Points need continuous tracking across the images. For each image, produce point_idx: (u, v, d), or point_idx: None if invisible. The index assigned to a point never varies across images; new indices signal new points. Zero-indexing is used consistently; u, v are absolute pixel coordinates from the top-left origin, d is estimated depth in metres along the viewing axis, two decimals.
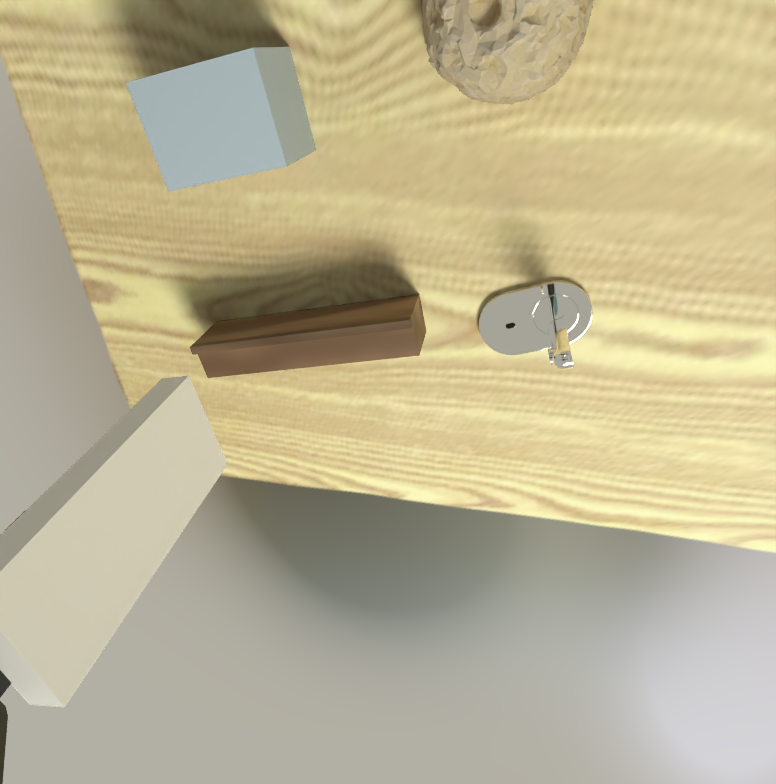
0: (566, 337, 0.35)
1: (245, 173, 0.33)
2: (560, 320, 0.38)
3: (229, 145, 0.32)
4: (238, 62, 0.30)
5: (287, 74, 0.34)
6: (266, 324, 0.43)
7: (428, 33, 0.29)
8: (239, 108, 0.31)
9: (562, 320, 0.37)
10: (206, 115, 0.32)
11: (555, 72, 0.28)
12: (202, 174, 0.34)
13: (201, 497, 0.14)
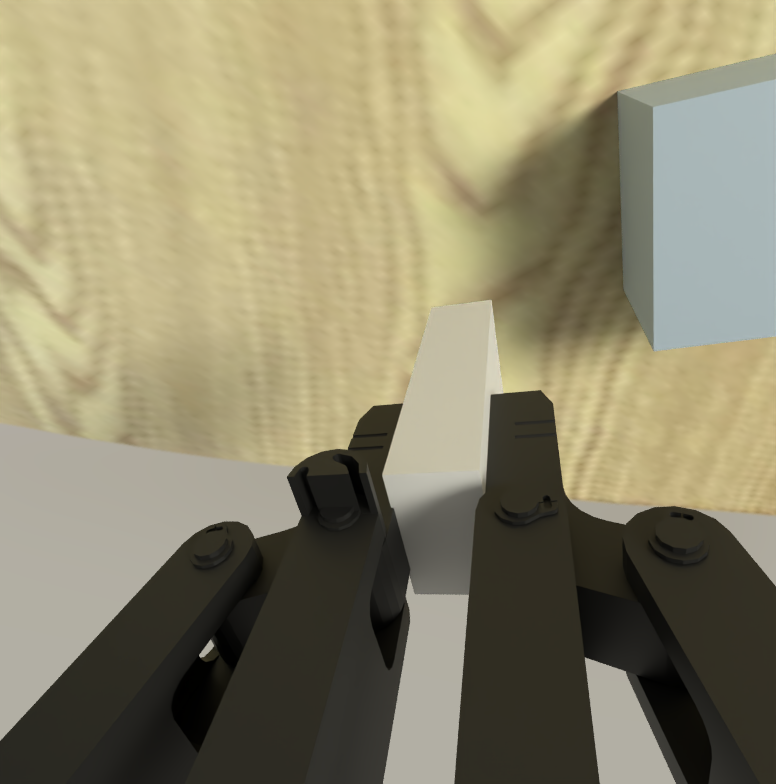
0: None
1: None
2: None
3: None
4: (670, 142, 0.16)
5: (670, 84, 0.19)
6: None
7: None
8: (749, 150, 0.16)
9: None
10: (740, 223, 0.17)
11: None
12: None
13: None
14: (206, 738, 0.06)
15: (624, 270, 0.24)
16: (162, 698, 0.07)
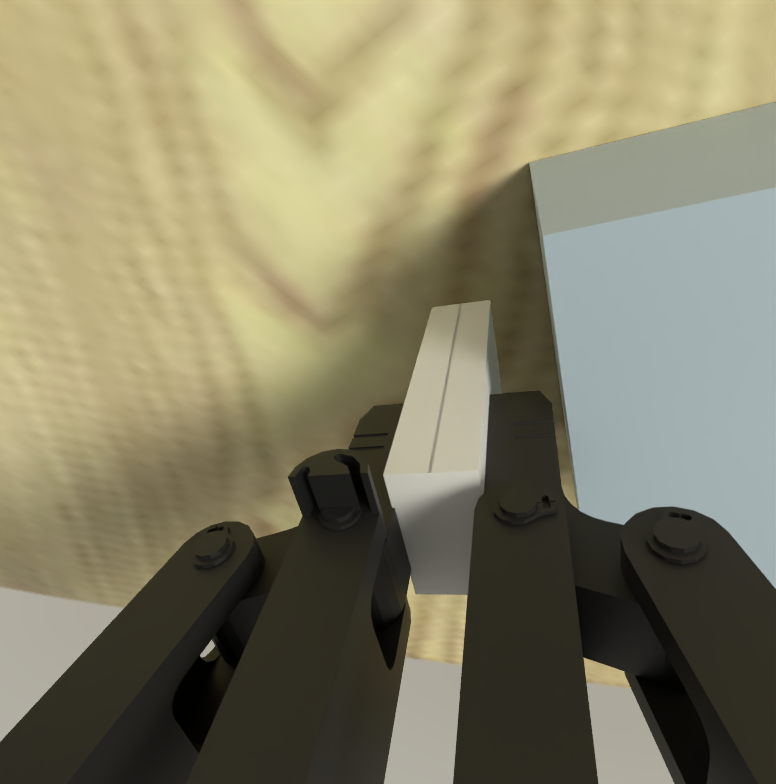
0: None
1: None
2: None
3: None
4: (583, 294, 0.09)
5: (604, 161, 0.11)
6: None
7: None
8: (735, 312, 0.08)
9: None
10: (724, 428, 0.09)
11: None
12: None
13: None
14: (207, 738, 0.06)
15: None
16: (162, 698, 0.07)
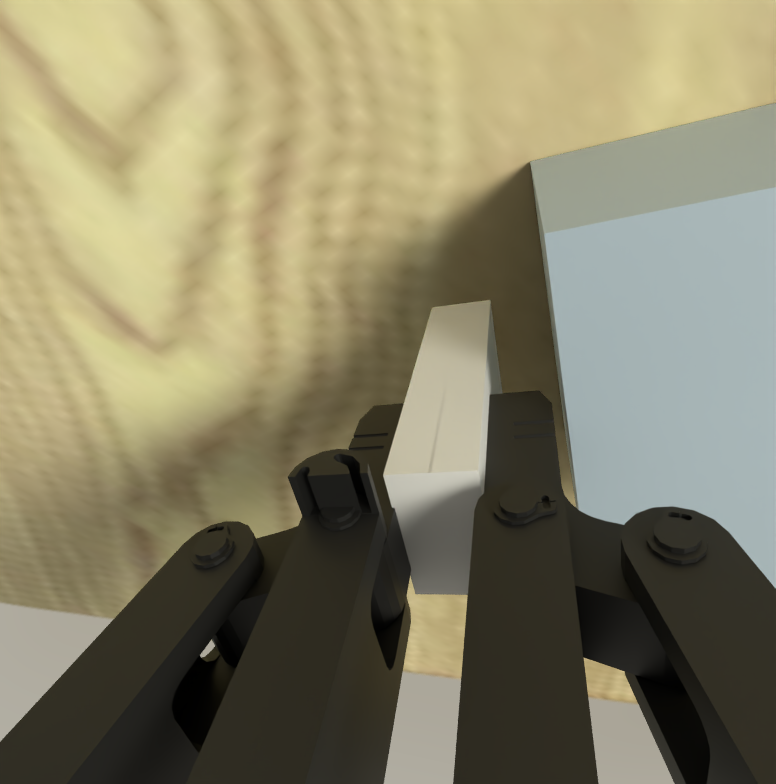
0: None
1: None
2: None
3: None
4: (583, 293, 0.09)
5: (605, 160, 0.11)
6: None
7: None
8: (736, 312, 0.08)
9: None
10: (725, 427, 0.09)
11: None
12: None
13: None
14: (207, 738, 0.06)
15: None
16: (162, 698, 0.07)
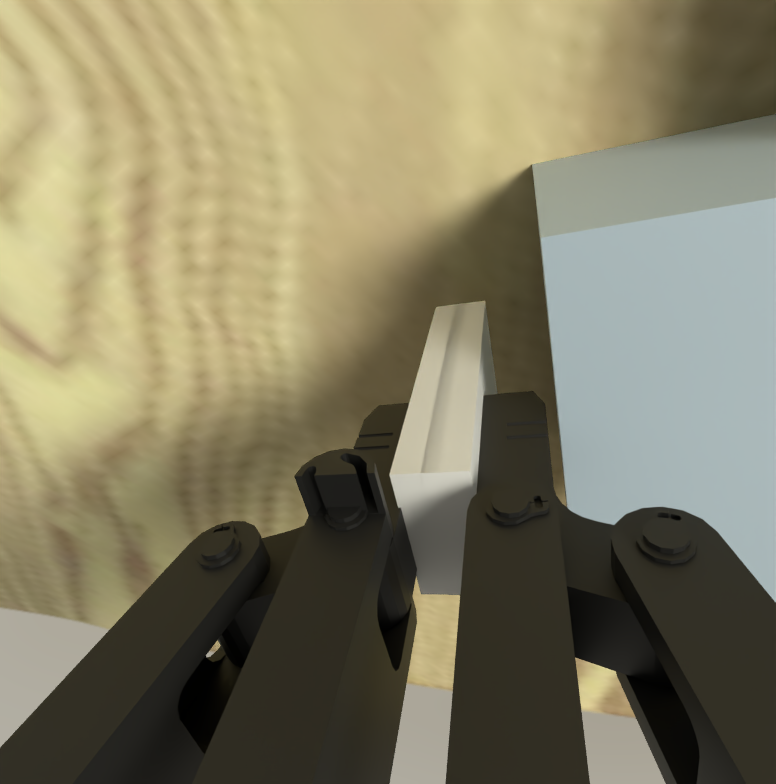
0: None
1: None
2: None
3: None
4: (579, 299, 0.09)
5: (606, 165, 0.11)
6: None
7: None
8: (731, 323, 0.08)
9: None
10: (716, 437, 0.09)
11: None
12: None
13: None
14: (213, 738, 0.06)
15: None
16: (168, 699, 0.07)
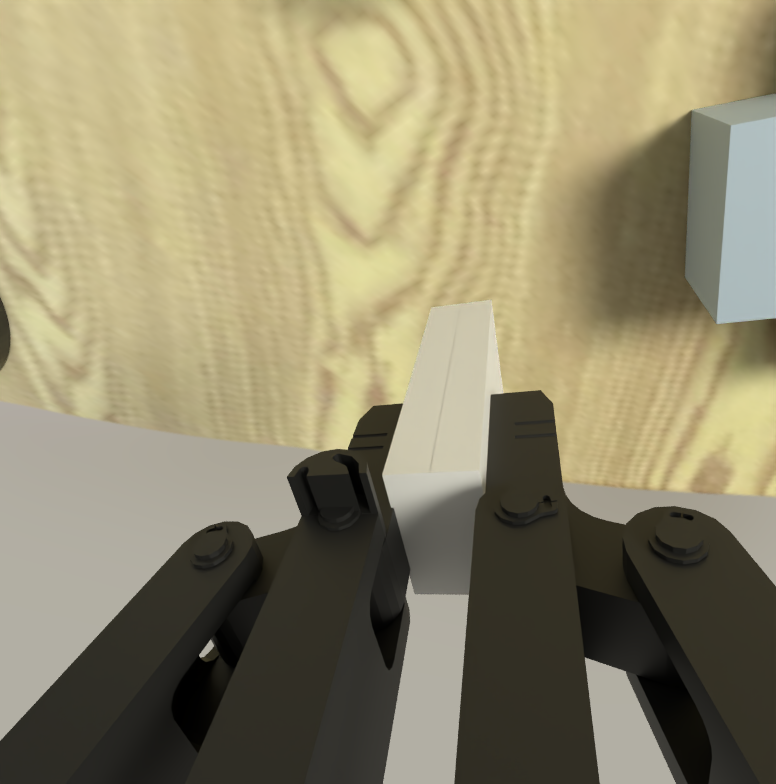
0: None
1: None
2: None
3: None
4: (743, 152, 0.21)
5: (739, 106, 0.24)
6: None
7: None
8: None
9: None
10: None
11: None
12: None
13: None
14: (206, 738, 0.06)
15: (687, 260, 0.28)
16: (162, 699, 0.07)
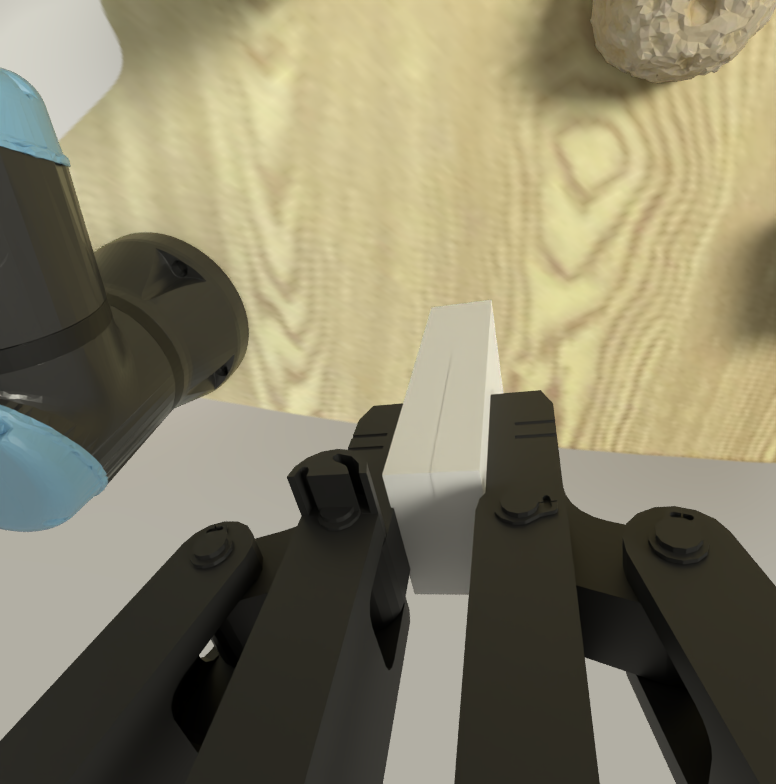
0: None
1: None
2: None
3: None
4: None
5: None
6: None
7: (693, 72, 0.31)
8: None
9: None
10: None
11: None
12: None
13: None
14: (206, 738, 0.06)
15: None
16: (162, 698, 0.07)
